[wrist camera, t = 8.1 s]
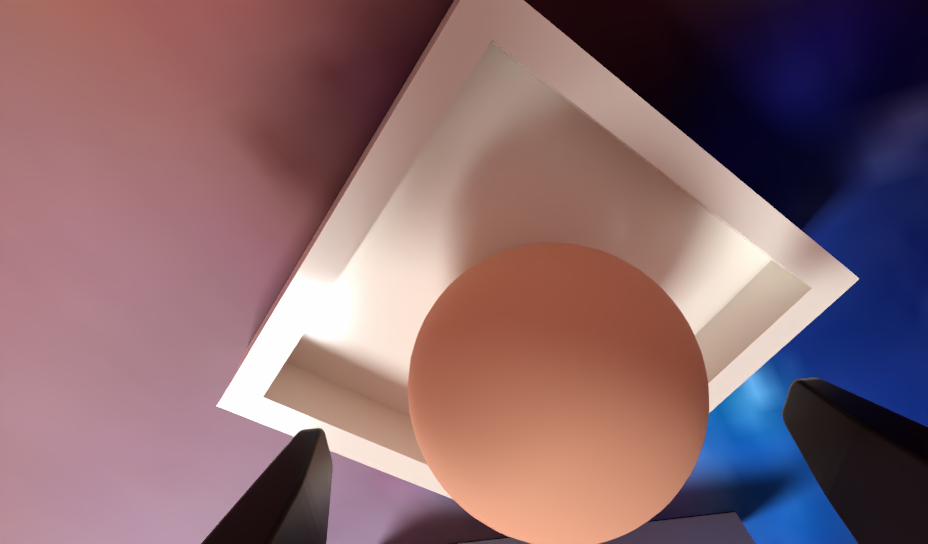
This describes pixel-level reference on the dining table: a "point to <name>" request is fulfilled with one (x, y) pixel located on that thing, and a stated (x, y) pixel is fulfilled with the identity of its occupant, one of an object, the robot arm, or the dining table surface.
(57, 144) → the dining table surface
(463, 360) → the ball
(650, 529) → the rail
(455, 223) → the tray
